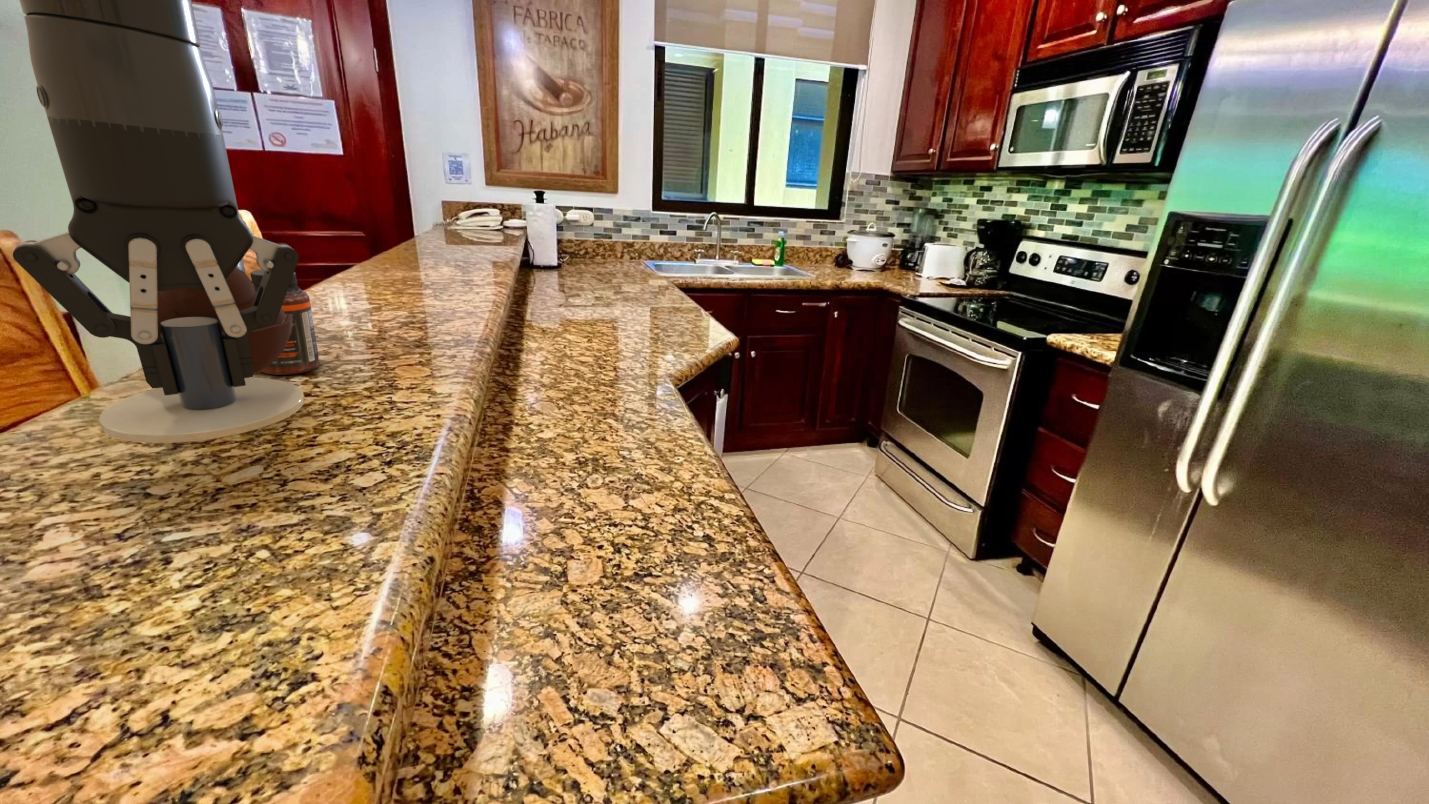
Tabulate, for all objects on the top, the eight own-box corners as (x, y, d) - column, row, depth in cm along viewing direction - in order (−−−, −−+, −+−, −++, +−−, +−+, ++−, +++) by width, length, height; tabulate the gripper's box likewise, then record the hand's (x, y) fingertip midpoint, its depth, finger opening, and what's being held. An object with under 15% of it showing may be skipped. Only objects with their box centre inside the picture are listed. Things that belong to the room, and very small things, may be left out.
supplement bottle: (250, 377, 61) (228, 274, 57) (265, 361, 66) (246, 266, 62) (315, 375, 63) (298, 276, 59) (325, 360, 68) (310, 268, 64)
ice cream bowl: (335, 405, 57) (312, 256, 51) (237, 451, 46) (194, 270, 41) (239, 392, 57) (205, 243, 52) (120, 435, 47) (63, 254, 41)
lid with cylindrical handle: (105, 398, 40) (76, 309, 38) (291, 376, 47) (277, 300, 45) (96, 458, 33) (60, 352, 30) (317, 421, 40) (302, 334, 38)
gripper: (276, 136, 40) (313, 360, 47) (-36, 100, 31) (63, 386, 37) (294, 138, 35) (333, 388, 42) (-70, 96, 26) (50, 426, 32)
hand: (205, 386), depth 39 cm, fingers closed on lid with cylindrical handle, 3 cm apart
